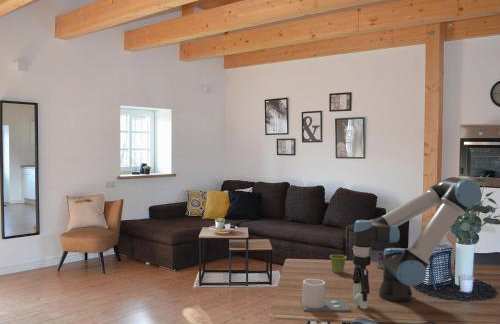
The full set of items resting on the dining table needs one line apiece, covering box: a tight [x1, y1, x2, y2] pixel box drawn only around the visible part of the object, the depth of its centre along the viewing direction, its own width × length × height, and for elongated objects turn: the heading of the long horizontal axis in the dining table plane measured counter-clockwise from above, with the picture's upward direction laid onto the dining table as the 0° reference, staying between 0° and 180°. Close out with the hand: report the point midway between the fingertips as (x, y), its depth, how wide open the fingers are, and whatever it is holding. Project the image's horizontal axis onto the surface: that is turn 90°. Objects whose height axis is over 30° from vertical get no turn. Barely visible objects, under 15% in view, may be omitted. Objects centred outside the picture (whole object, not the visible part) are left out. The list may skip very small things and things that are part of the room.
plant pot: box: [329, 254, 348, 274], centre depth 262 cm, size 9×9×9 cm
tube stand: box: [300, 278, 351, 313], centre depth 206 cm, size 20×13×11 cm, turn 91°
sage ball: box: [353, 293, 369, 308], centre depth 207 cm, size 6×6×6 cm
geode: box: [376, 252, 384, 270], centre depth 276 cm, size 20×12×10 cm, turn 130°
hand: (359, 302), depth 207 cm, fingers open, 13 cm apart
